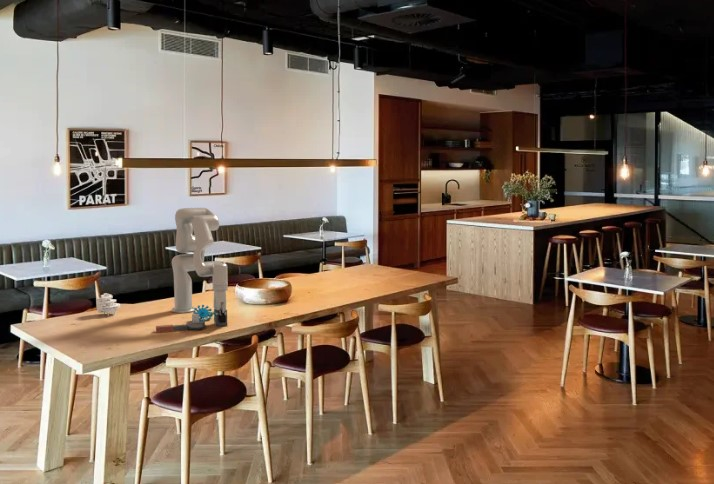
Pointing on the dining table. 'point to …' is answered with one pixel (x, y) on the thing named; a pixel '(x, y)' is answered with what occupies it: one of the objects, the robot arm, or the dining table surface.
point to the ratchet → (183, 326)
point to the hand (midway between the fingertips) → (220, 320)
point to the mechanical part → (107, 304)
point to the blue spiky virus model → (203, 312)
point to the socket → (216, 319)
